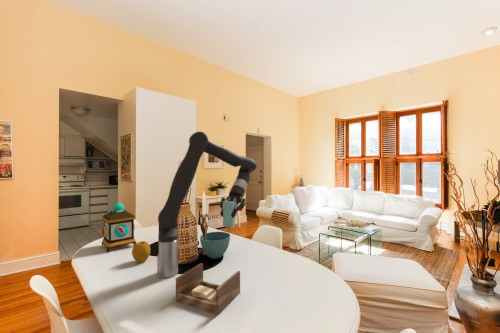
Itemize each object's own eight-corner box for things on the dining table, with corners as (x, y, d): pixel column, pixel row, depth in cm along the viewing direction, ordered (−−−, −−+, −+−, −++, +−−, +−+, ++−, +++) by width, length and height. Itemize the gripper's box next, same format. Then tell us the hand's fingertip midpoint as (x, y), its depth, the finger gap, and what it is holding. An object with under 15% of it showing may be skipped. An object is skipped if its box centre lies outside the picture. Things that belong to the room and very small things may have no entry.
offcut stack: (190, 302, 91) (190, 290, 91) (199, 295, 96) (199, 284, 96) (209, 308, 87) (208, 296, 87) (217, 300, 92) (217, 289, 92)
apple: (137, 266, 128) (136, 245, 128) (128, 262, 134) (128, 241, 134) (153, 260, 136) (153, 240, 136) (145, 257, 142) (144, 237, 142)
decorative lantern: (130, 240, 176) (129, 200, 176) (138, 246, 161) (138, 202, 161) (99, 246, 162) (98, 203, 162) (105, 253, 148) (104, 206, 148)
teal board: (223, 226, 115) (222, 201, 115) (225, 225, 117) (225, 201, 117) (232, 227, 113) (232, 202, 113) (234, 226, 115) (234, 201, 115)
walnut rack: (175, 305, 92) (175, 278, 92) (201, 286, 106) (201, 263, 106) (218, 319, 83) (218, 289, 83) (240, 296, 97) (240, 271, 97)
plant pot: (217, 264, 130) (217, 242, 130) (193, 258, 139) (193, 237, 140) (236, 254, 145) (236, 234, 145) (213, 248, 155) (213, 230, 155)
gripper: (224, 184, 125) (211, 210, 114) (248, 185, 118) (237, 213, 108) (229, 193, 130) (217, 219, 119) (253, 194, 123) (242, 222, 112)
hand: (227, 216), depth 113 cm, fingers closed on teal board, 5 cm apart
